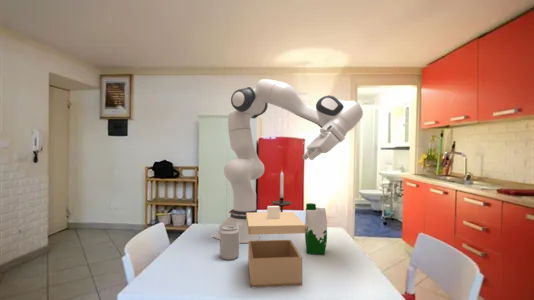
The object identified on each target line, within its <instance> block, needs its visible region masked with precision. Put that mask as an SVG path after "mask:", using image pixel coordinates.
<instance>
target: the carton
mask: <svg viewBox="0 0 534 300" xmlns="http://www.w3.org/2000/svg"><path fill="white" fill-rule="evenodd" d="M247 248H248V251H247V252H248V255H247V256H248V257H247V258H248V261H247V262H248V265H247V266H248V273H249V274H248V276H249V283H250V285H249V286H250V288H251V287H256V288H273V287H275V288H276V287H296V286H297V287H298V286H299V287H300V286H301V287H302V286H303V256H302V255H301V254H300V251H299V250H298V248H297V247H296V246H295V244H294V243H293V241H292V239H274V240H273V239H272V240H271V239H270V240H268V239H267V240H257V241H249V243H248V247H247Z"/></svg>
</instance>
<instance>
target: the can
mask: <svg viewBox="0 0 534 300" xmlns="http://www.w3.org/2000/svg"><path fill="white" fill-rule="evenodd" d="M237 228H238V227H237V226H234V225H227V226H223V227H222V230H221V231H220V239H219V257H221V259H223V260H225V261H231V260H232V261H233V260H236V259H237V258H238V257H239V255H240V243H239V230H238V229H237Z"/></svg>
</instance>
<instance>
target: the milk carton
mask: <svg viewBox="0 0 534 300" xmlns="http://www.w3.org/2000/svg"><path fill="white" fill-rule="evenodd" d="M316 206H317V204H316V203H312V202H311V203H306V206H305V207H306V208H305V220H304V221H305V222H304V224H305V225H306V233H304V240H305V250H306V255H315V256H325V254H326V249H327V243H328V242H327V241H328V219H327V210H326V208H325V207H316Z"/></svg>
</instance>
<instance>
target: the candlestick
mask: <svg viewBox="0 0 534 300" xmlns="http://www.w3.org/2000/svg"><path fill="white" fill-rule="evenodd" d="M280 171H281V172H280V174H279V176H280V177H279V179H280V180H279V181H280V182H279V196H278V199H279V200H273V201H272V202H271V205H272V206H279V207H280V212H284V209H283V207H286V206H287V207H288V206H291V205H292V202H291V201H288V200H284V199H285V198H286V197H284V179H285V178H284V175H285V174H284V173H283V166H282V165H281V167H280Z"/></svg>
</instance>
